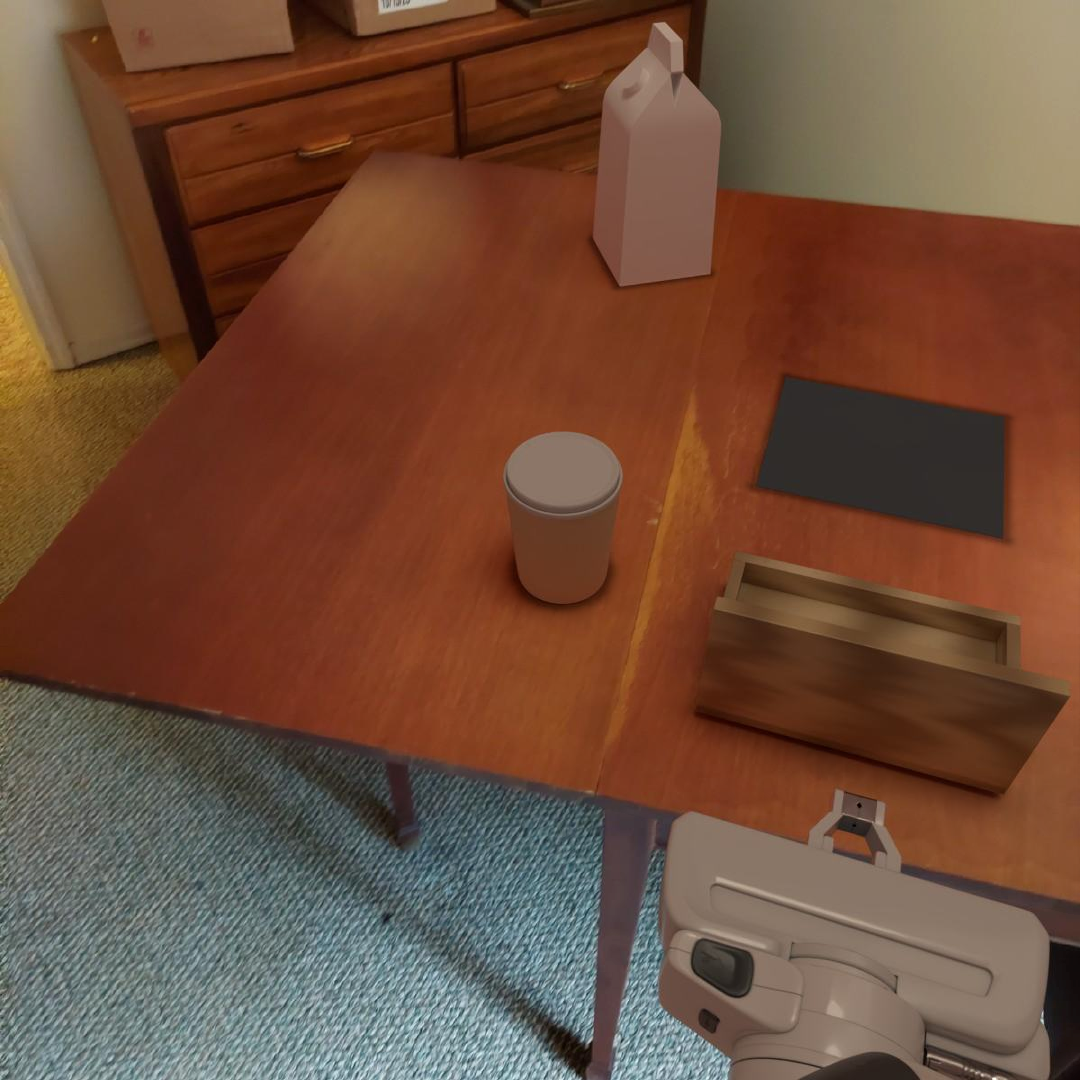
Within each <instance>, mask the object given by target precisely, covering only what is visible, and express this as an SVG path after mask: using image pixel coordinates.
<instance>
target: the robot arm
mask: <svg viewBox="0 0 1080 1080" xmlns="http://www.w3.org/2000/svg"><path fill="white" fill-rule="evenodd" d="M886 805H887V804H886V802H885V801H883V800H878V799H876V798H871V797H868V796H863V795H859V794H856V793H853V792H849V791H846V790H842V789H839V788H834V790H833V792H832V794H831V797H830V800H829V804H828V809H827V810H828V811H827V813H826V814H825V815H824V817H822V818H821V819H820V820H819V821H818V822H817V823H816V824H815V825H814V826H813V827H811V828H810V830H809V832H808V834H807V837H806V839H805V842H804V843H802V842H798V841H795V840H791V839H788V838H785V837H781V836H779V835H775V834H773V833H768V832H765V831H761V830H758V829H755V828H751V827H748V826H744V825H741V824H737V823H734V822H731V821H727V820H724V819H721V818H717V817H714V816H711V815H708V814H705V813H701V812H698V811H694V810H689V811H687V812H684V813H683V814H682V815H680V816H679V817H677V818H676V819H674V820H673V821H672V822H671V827H670V831H669V835H668V836H669V837H668V840H667V845H666V849H665V854H664V861H663V867H662V874H661V879H660V888H659V889H660V890H659V897H658V908H657V909H658V910H657V934H658V938H659V942H660V945H661V948H662V950H663V955H662V958H661V962H660V964H659V968H658V974H657V986H656V987H657V996H658V1002H659V1004H660V1006H661V1008H663V1010H664V1011H665V1012H666V1013H668V1014H669V1015H670V1016H671V1017H673V1018H674V1019H676V1020H677V1021H679V1023H681V1024H682V1025H684V1026H685V1027H687V1028H688V1029H690V1030H691V1031H693V1032H694V1033H695V1034H696V1035H698V1036H699V1037H701V1038H702V1039H703V1040H705V1041H706V1042H707V1043H709V1044H710V1045H711V1046H712V1047H714V1048H715V1049H716V1050H718V1051H719V1052H720V1053H722V1054H723V1055H724V1056H726V1057H727V1058H728V1059H729V1060H730V1062H729V1063H730V1064H729V1068H728V1069H729V1070H728V1074H727V1080H1049V1079H1050V1074H1051V1048H1050V1047H1051V1046H1050V1045H1051V1044H1050V1038H1049V1037H1050V1036H1049V1034H1048V1031H1047V1029H1046V1027H1045V1025H1044V1023H1043V1022H1042V1020H1041V1019H1042V1015H1043V1010H1044V1006H1045V1005H1044V1004H1045V1000H1046V993H1047V988H1048V987H1047V986H1048V978H1049V967H1050V951H1051V950H1050V944H1051V943H1050V935H1049V933H1048V931H1047V929H1046V928H1045V927H1044V925H1043V924H1042V922H1041V921H1040V920H1039V918H1038V917H1037V916H1036V914H1034V912H1031V911H1029V910H1027V909H1023V908H1020V907H1017V906H1014V905H1010V904H1007V903H1004V902H1000V901H997V900H993V899H990V898H987V897H983V896H980V895H976V894H973V893H970V892H967V891H963V890H960V889H956V888H953V887H949V886H946V885H943V884H939V883H937V882H934V881H933V882H932V881H929V880H926V879H923V878H920V877H916V876H913V875H909V874H906V873H902V872H901V869H902V859H903V858H902V855H901V852H900V851H899V850H898V848H897V846H896V844H895V842H894V840H893V838H892V837H891V834H890V832H889V830H888V829H887V827H886V826H884V825H885V817H886V816H885V814H886ZM838 830H839V831H842V832H846V833H850V834H853V835H856V836H859V837H862V838H864V840H865V842H866V845H867V847H868V849H869V851H870V854H871V856H872V859H871V861H870V863H869V862H866V861H862V860H859V859H855V858H852V857H849V856H845V855H842V854H839V853H836V852H834V851H833V850H834V843H835V839H834V838H833V837H832V836H833V835H834V834H835V833H836V832H837V831H838Z"/></svg>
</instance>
